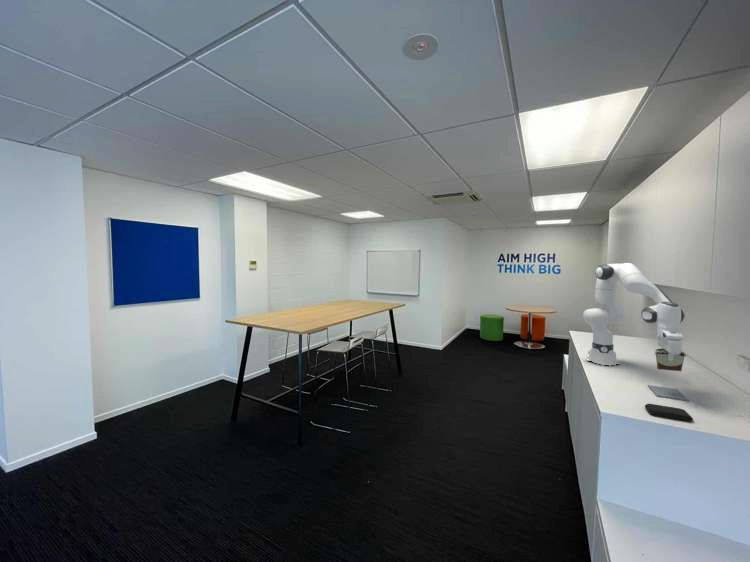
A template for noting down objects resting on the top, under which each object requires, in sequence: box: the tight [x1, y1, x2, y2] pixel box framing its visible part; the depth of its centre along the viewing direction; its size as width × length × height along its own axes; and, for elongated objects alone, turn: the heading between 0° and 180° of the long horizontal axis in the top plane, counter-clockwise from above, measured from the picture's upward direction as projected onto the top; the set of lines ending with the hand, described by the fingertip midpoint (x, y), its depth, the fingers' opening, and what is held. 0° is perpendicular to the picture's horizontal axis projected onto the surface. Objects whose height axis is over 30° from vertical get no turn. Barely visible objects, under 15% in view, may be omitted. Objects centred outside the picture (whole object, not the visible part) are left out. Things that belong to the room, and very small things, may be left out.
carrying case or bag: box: [644, 403, 694, 423], centre depth 136 cm, size 11×3×15 cm
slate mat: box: [647, 384, 690, 402], centre depth 158 cm, size 15×12×1 cm
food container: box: [653, 348, 687, 372], centre depth 158 cm, size 12×6×10 cm, turn 65°
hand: (667, 358), depth 157 cm, fingers closed on food container, 5 cm apart
